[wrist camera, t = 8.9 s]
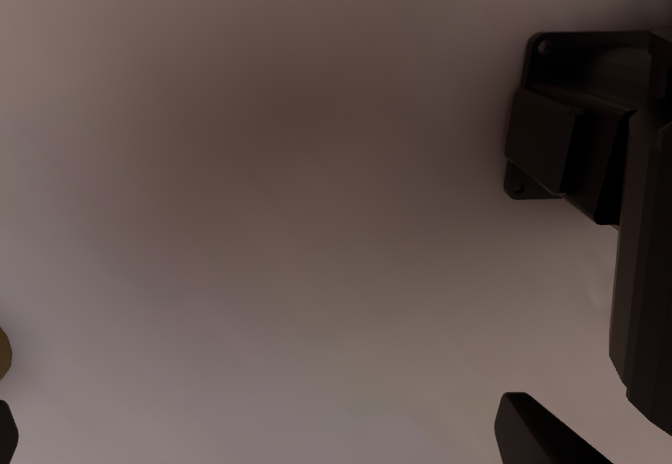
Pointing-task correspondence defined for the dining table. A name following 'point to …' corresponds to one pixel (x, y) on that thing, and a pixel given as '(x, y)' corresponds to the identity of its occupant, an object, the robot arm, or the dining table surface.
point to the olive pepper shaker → (4, 354)
